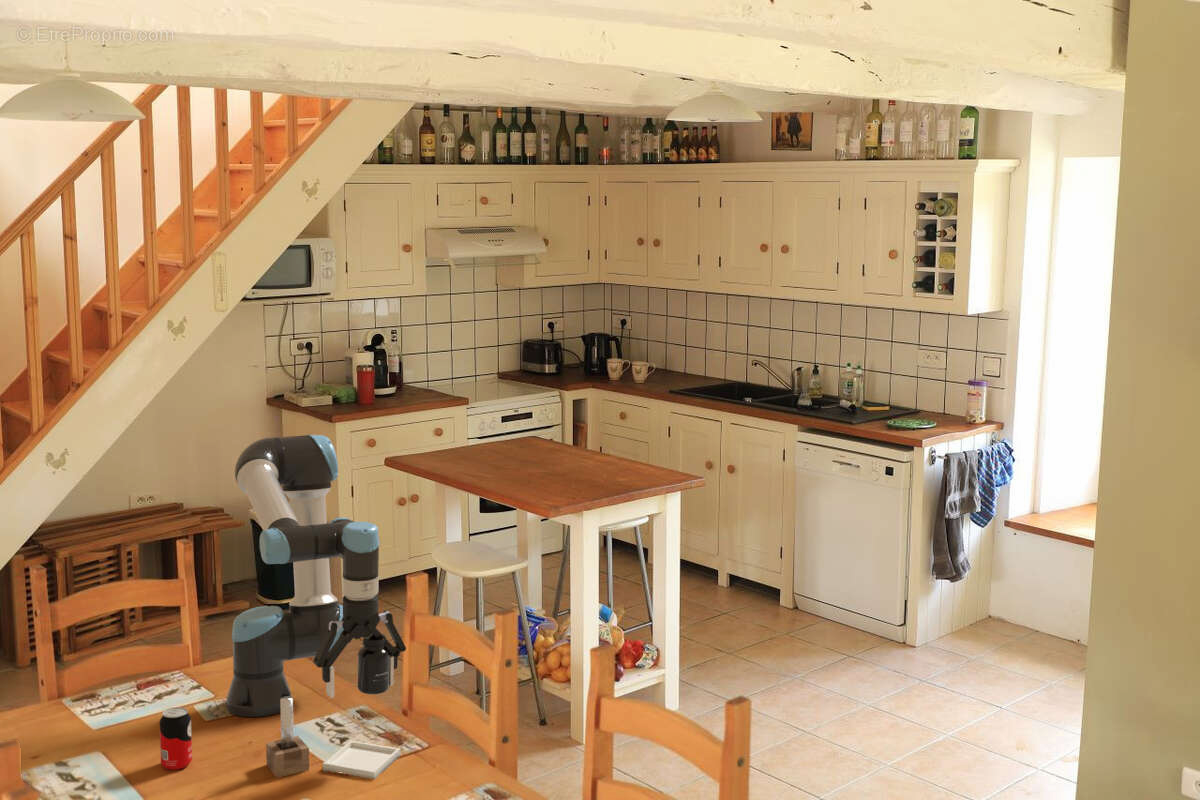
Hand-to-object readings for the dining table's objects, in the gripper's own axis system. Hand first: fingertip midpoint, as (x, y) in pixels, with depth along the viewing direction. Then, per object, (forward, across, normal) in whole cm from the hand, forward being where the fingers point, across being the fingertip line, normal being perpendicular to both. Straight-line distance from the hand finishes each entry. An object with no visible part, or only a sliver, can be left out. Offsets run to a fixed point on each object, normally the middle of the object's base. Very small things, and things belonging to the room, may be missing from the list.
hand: (360, 689), depth 258 cm
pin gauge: (+15, -15, +4) cm, 21 cm away
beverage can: (+17, -35, +17) cm, 42 cm away
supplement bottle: (+1, +3, 0) cm, 3 cm away
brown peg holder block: (+16, -15, +4) cm, 22 cm away
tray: (+16, 0, -2) cm, 16 cm away
